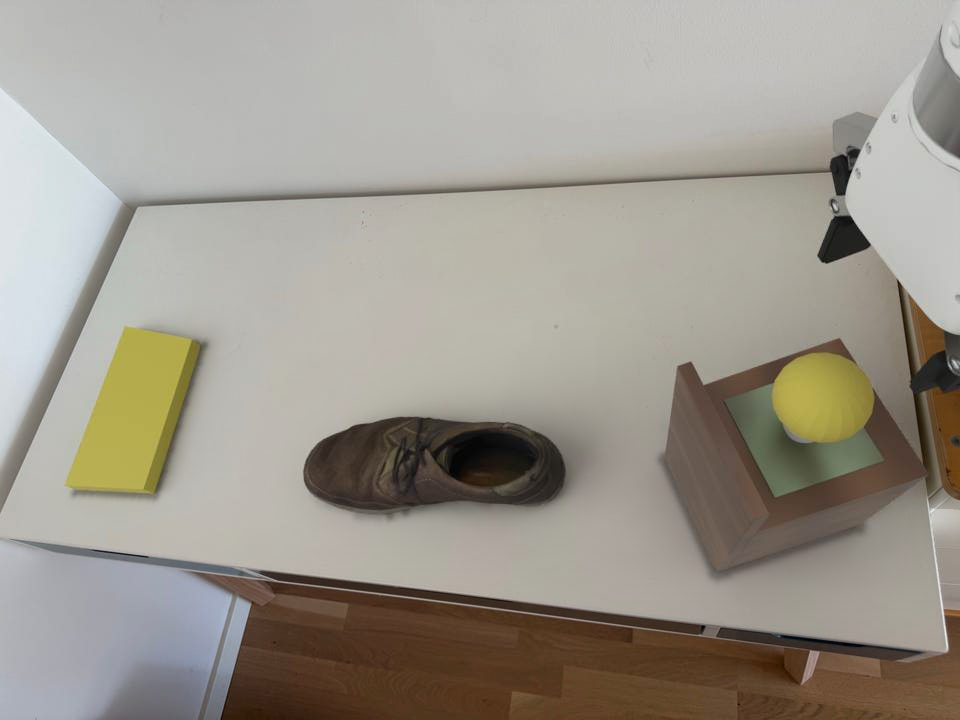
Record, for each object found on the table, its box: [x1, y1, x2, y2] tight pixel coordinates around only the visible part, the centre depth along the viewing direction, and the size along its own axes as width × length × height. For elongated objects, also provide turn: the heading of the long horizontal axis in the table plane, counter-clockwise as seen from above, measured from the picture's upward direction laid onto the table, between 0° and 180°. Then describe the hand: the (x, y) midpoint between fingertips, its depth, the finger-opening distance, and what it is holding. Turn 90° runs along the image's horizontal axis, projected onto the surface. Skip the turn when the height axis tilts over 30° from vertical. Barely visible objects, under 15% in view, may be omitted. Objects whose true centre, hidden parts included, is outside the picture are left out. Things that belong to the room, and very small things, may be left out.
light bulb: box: [771, 353, 874, 443], centre depth 49 cm, size 7×7×10 cm
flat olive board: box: [64, 325, 202, 495], centre depth 90 cm, size 12×2×24 cm
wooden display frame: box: [664, 337, 930, 573], centre depth 59 cm, size 15×13×24 cm
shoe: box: [302, 416, 566, 515], centre depth 74 cm, size 12×31×10 cm, turn 80°
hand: (886, 313), depth 39 cm, fingers open, 9 cm apart
